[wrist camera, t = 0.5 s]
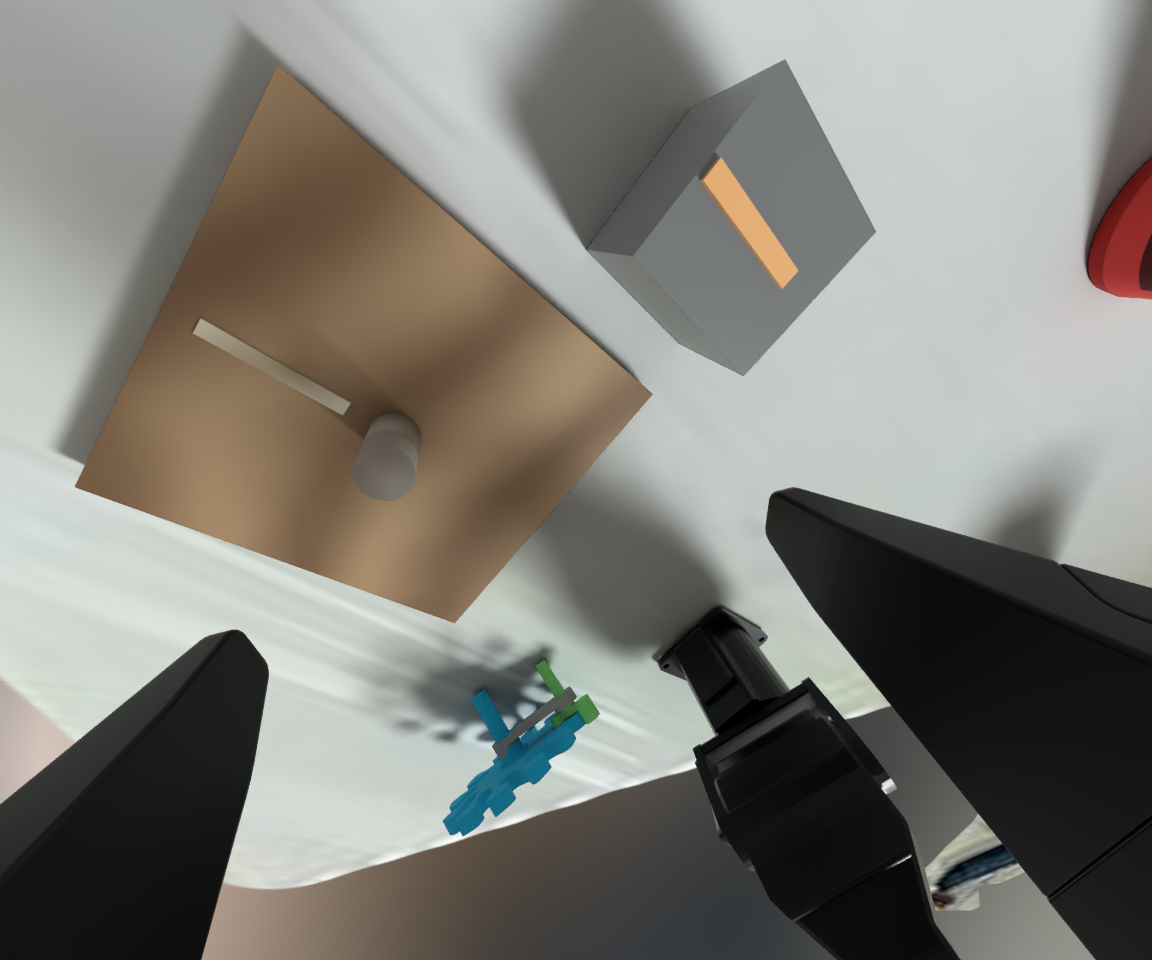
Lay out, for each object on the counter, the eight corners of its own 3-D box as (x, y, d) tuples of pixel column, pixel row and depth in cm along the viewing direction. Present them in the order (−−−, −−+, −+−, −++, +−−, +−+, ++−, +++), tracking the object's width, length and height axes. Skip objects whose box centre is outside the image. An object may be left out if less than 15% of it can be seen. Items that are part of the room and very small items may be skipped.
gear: (483, 789, 32) (428, 885, 22) (442, 716, 33) (373, 776, 23) (605, 697, 32) (605, 750, 23) (560, 629, 34) (542, 652, 24)
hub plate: (643, 386, 21) (688, 422, 17) (454, 607, 25) (455, 679, 21) (291, 77, 13) (221, 10, 9) (97, 471, 17) (-12, 545, 13)
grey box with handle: (774, 231, 19) (881, 231, 14) (678, 343, 20) (746, 377, 16) (691, 107, 16) (790, 56, 11) (585, 249, 17) (635, 256, 13)
